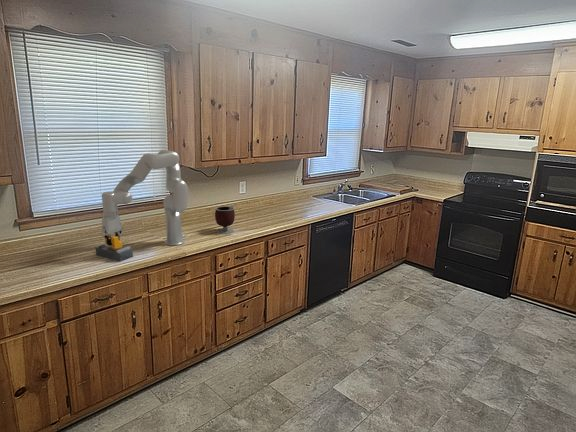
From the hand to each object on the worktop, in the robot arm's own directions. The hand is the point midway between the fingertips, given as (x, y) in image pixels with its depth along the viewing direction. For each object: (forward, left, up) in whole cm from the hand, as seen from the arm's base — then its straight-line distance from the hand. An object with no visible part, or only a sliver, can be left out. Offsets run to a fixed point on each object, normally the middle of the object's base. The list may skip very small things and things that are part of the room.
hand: (113, 243), depth 227 cm
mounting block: (0, 0, -8) cm, 8 cm away
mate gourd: (-74, +27, -8) cm, 79 cm away
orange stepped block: (0, 0, -2) cm, 2 cm away
